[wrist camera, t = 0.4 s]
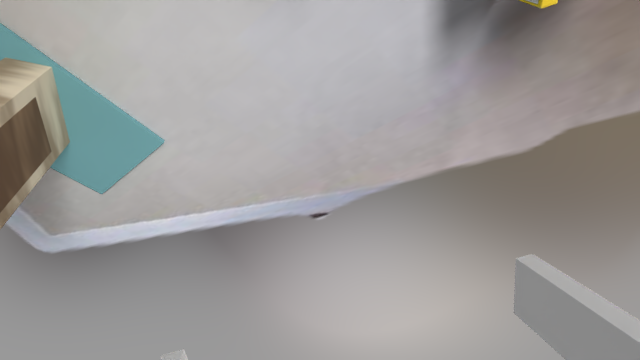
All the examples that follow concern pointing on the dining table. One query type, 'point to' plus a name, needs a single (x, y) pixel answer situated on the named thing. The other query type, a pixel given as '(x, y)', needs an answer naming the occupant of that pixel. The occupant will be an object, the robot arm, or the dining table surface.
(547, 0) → the candy box
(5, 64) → the light brown rectangular block
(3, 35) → the mat
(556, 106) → the dining table surface
